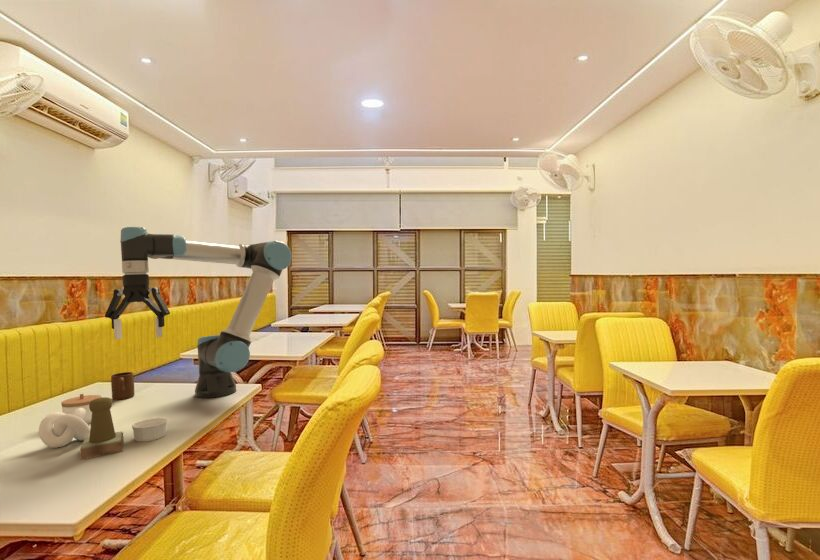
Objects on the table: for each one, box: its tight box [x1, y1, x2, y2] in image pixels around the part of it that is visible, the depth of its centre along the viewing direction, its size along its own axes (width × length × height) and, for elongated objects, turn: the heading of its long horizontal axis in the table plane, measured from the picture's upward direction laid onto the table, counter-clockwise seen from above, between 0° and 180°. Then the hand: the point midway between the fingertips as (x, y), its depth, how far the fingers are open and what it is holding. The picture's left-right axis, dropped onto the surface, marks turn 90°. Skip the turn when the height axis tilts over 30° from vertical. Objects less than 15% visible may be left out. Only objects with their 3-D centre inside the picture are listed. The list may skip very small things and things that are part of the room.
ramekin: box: [131, 417, 168, 443], centre depth 132 cm, size 9×9×4 cm
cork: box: [89, 397, 116, 443], centre depth 123 cm, size 6×6×11 cm
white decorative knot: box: [38, 408, 91, 449], centre depth 130 cm, size 11×12×9 cm
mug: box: [110, 371, 135, 401], centre depth 179 cm, size 12×8×9 cm, turn 29°
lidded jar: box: [61, 393, 103, 425], centre depth 149 cm, size 11×11×9 cm
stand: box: [80, 430, 125, 460], centre depth 123 cm, size 9×9×3 cm
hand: (138, 337), depth 151 cm, fingers open, 13 cm apart
